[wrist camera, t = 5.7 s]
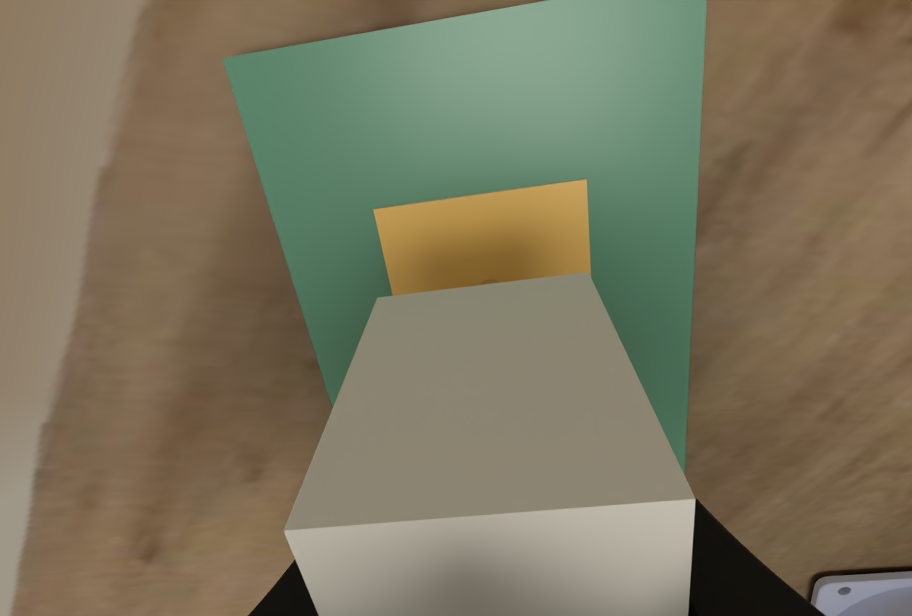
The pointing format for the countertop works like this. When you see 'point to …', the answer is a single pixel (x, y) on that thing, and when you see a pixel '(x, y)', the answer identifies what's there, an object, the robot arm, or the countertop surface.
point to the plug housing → (494, 466)
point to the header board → (491, 168)
